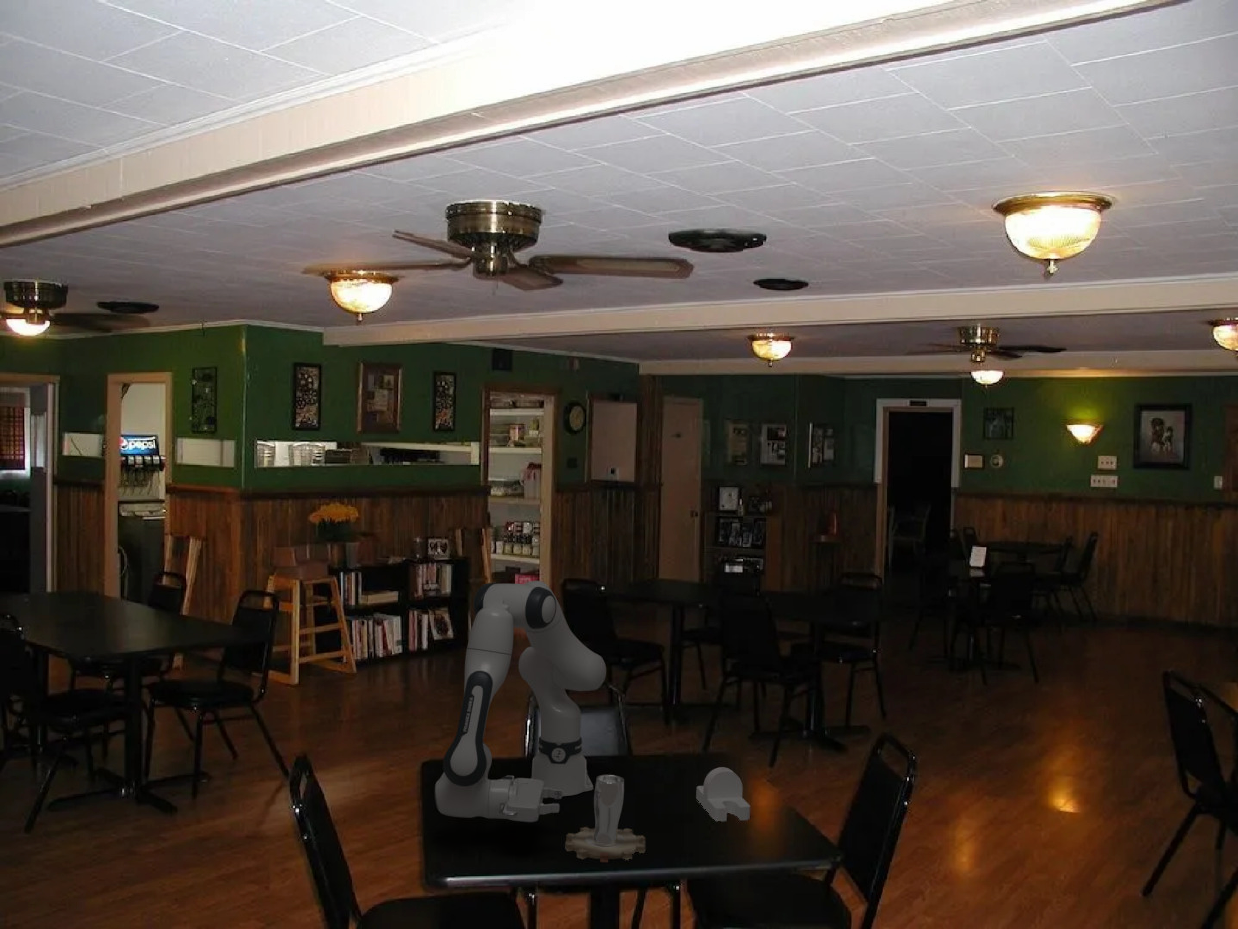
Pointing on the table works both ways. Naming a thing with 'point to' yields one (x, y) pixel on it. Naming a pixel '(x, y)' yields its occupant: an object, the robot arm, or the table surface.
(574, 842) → the sprocket plate
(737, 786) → the tape dispenser
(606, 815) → the beer glass
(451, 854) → the table surface
